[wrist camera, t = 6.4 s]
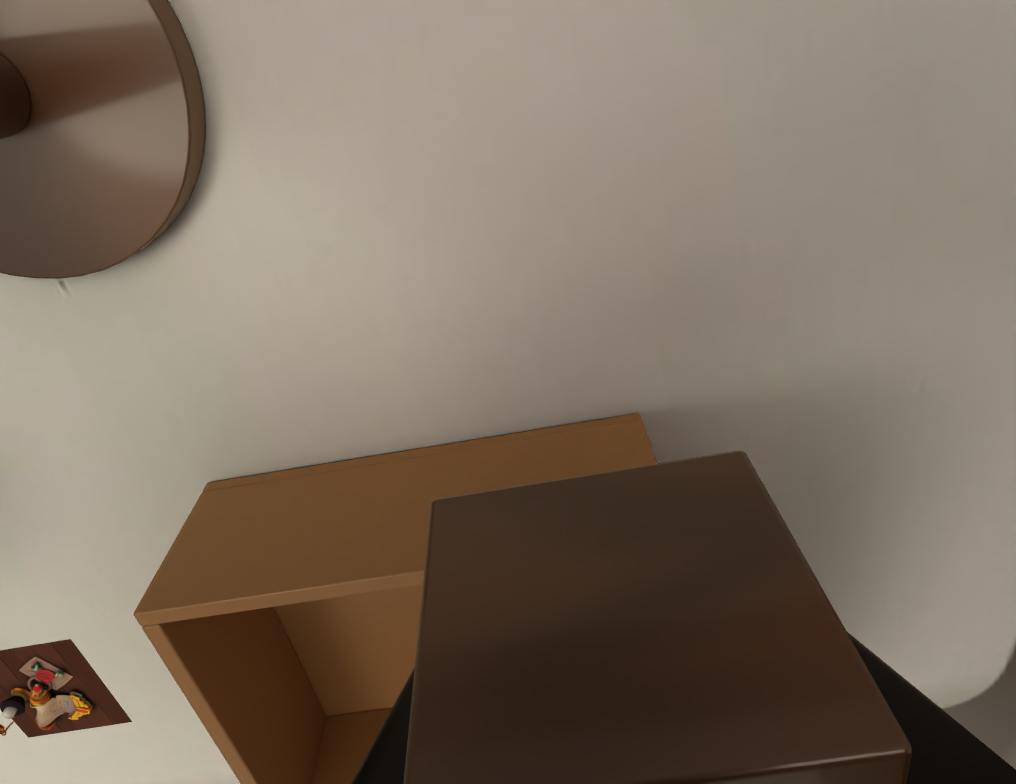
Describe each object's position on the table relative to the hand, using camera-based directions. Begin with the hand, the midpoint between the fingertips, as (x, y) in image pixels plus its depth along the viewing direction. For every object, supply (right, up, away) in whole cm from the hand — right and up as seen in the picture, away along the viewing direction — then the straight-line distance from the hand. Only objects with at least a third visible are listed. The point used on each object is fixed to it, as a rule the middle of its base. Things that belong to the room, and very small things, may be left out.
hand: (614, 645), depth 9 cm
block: (0, +1, +1) cm, 1 cm away
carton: (-3, -4, +16) cm, 17 cm away
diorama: (-19, -8, +19) cm, 28 cm away
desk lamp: (-13, +11, +8) cm, 19 cm away
